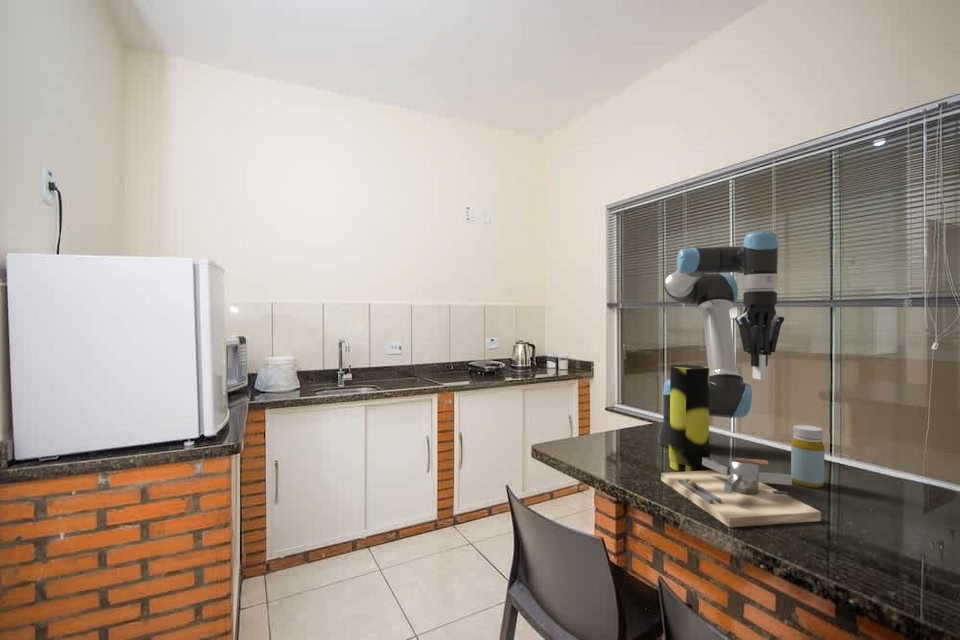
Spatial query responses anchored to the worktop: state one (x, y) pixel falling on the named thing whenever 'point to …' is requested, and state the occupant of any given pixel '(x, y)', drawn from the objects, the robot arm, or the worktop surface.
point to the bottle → (807, 456)
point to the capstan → (745, 475)
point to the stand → (739, 500)
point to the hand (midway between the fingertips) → (758, 378)
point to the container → (689, 417)
